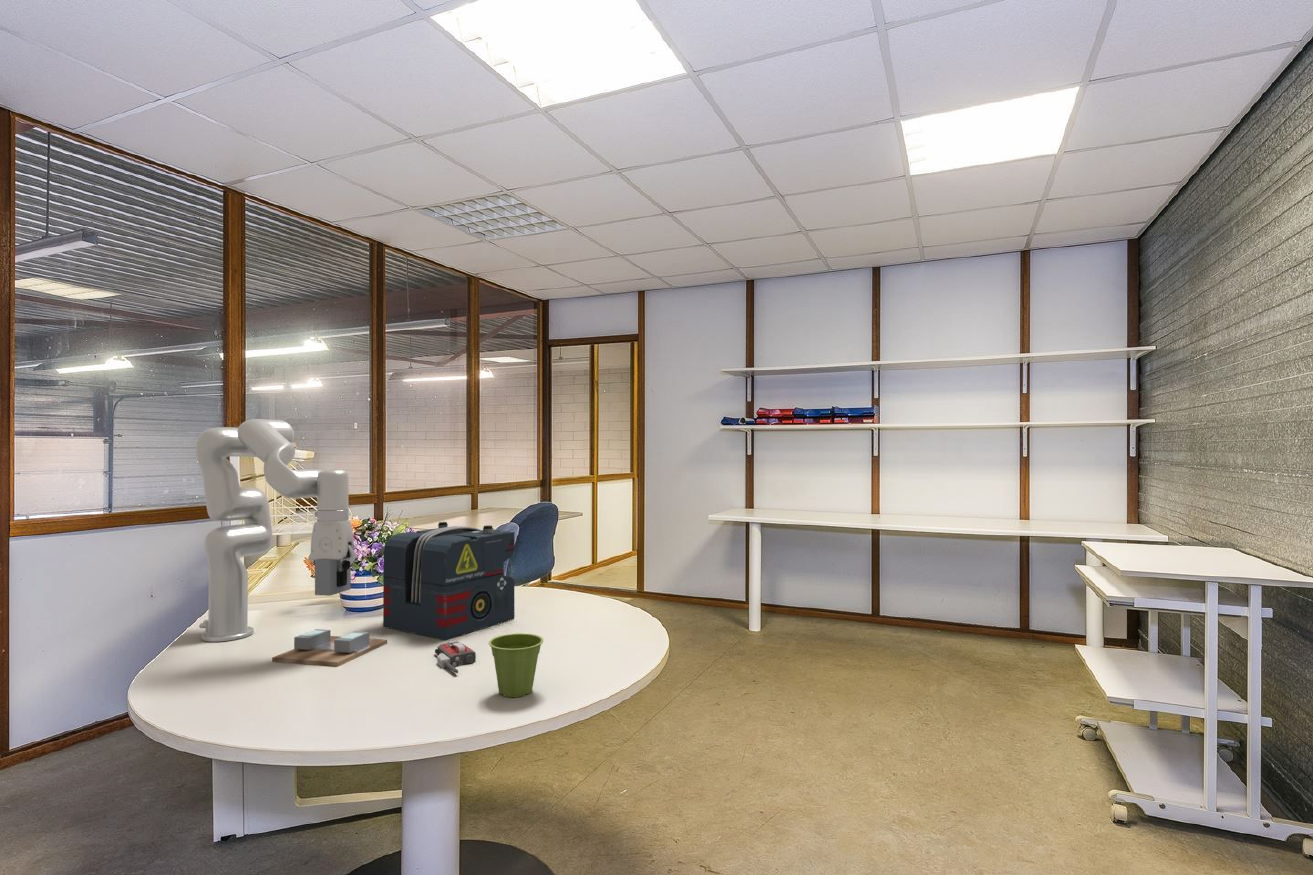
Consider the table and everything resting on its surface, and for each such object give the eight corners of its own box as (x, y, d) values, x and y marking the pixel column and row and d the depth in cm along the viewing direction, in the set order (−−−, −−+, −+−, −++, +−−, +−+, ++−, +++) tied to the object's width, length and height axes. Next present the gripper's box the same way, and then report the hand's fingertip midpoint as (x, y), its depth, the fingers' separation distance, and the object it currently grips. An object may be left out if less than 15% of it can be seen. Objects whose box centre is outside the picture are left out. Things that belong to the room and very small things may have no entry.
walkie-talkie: (426, 657, 172) (452, 678, 155) (426, 640, 172) (452, 659, 156) (460, 651, 177) (488, 671, 161) (460, 634, 177) (488, 652, 161)
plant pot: (493, 705, 138) (493, 651, 138) (484, 687, 149) (484, 636, 149) (549, 697, 143) (549, 644, 143) (536, 679, 154) (536, 630, 154)
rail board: (272, 661, 168) (272, 642, 168) (327, 639, 187) (327, 622, 187) (337, 666, 163) (337, 647, 164) (387, 643, 183) (387, 626, 183)
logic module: (314, 595, 172) (314, 559, 172) (336, 588, 180) (335, 554, 180) (330, 595, 171) (329, 560, 171) (350, 589, 179) (350, 555, 179)
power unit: (444, 640, 185) (445, 533, 186) (382, 627, 200) (382, 527, 200) (515, 618, 209) (515, 523, 209) (455, 608, 223) (455, 519, 224)
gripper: (295, 517, 174) (295, 587, 174) (351, 518, 170) (351, 589, 170) (315, 514, 181) (315, 581, 181) (370, 515, 178) (370, 583, 177)
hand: (333, 584), depth 175 cm, fingers closed on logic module, 4 cm apart
